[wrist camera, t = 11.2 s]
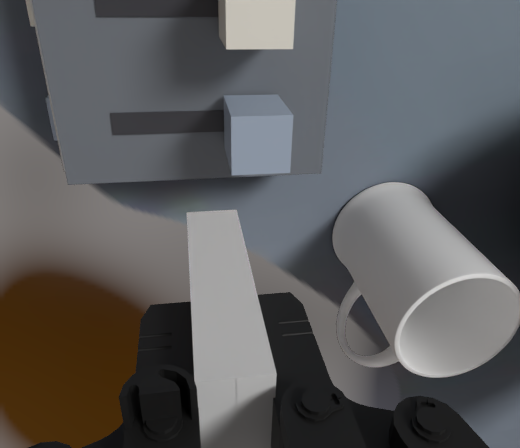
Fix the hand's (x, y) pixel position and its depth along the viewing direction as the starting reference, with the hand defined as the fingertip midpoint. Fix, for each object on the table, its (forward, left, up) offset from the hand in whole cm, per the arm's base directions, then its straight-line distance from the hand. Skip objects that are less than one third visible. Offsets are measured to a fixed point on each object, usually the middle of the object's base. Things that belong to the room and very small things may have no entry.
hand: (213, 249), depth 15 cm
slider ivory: (-6, +3, -13) cm, 15 cm away
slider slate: (0, +3, -13) cm, 14 cm away
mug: (+12, +14, -19) cm, 26 cm away
